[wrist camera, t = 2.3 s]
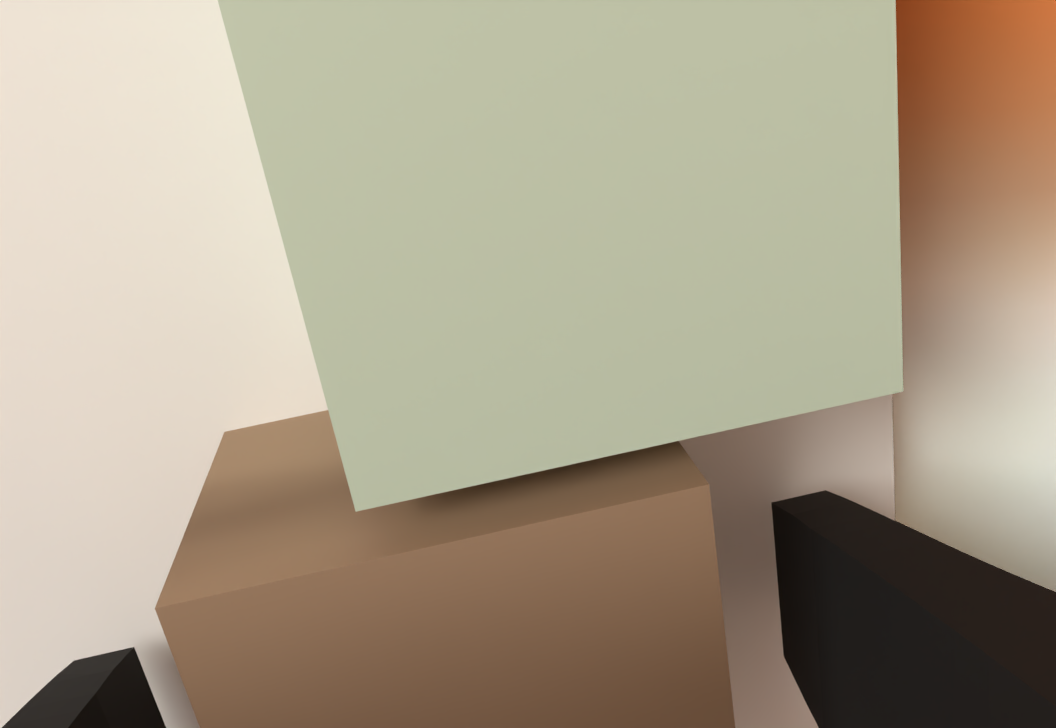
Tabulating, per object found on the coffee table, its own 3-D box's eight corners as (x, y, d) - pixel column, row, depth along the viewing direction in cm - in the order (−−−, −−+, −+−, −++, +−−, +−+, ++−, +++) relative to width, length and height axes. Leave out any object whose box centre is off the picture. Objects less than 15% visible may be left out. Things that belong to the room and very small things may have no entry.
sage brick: (750, 283, 9) (903, 391, 7) (364, 364, 9) (355, 512, 6) (696, -375, 7) (883, -617, 5) (197, -301, 7) (78, -511, 4)
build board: (863, 698, 13) (908, 761, 12) (-91, 932, 12) (-139, 1025, 11) (779, -1339, 6) (861, -1623, 5) (-1337, -1198, 5) (-1781, -1515, 4)
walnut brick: (672, 764, 12) (763, 999, 9) (355, 843, 11) (344, 1112, 8) (614, 349, 9) (709, 483, 7) (224, 431, 9) (154, 609, 6)
